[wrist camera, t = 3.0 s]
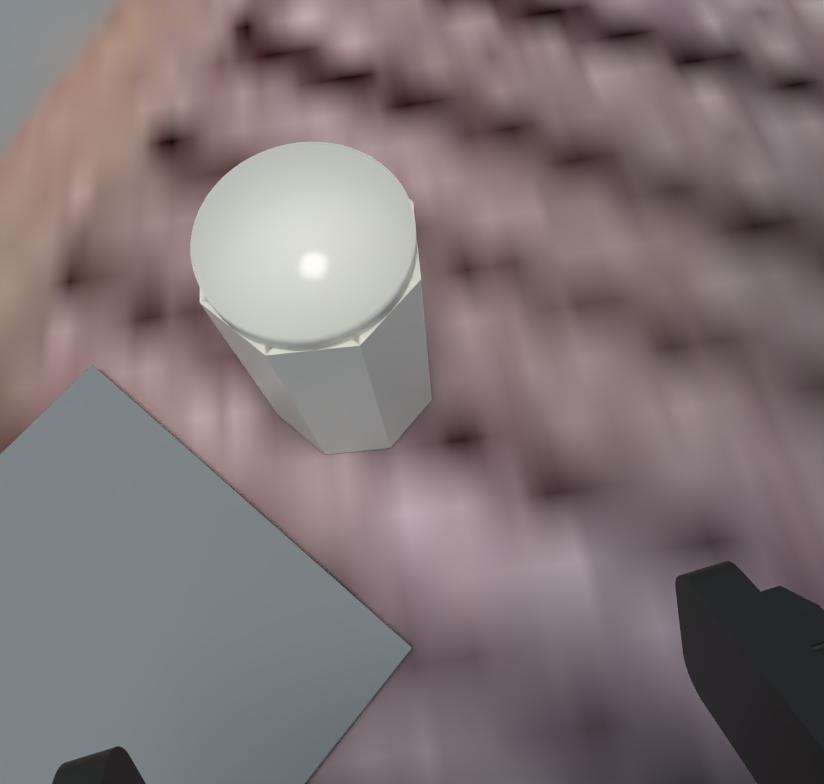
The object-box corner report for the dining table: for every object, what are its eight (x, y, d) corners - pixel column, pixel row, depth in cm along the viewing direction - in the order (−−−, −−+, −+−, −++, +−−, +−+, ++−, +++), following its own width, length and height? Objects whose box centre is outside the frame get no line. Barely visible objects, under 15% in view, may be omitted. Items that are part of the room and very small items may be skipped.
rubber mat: (99, 370, 29) (92, 364, 29) (412, 648, 25) (412, 647, 24) (-249, 711, 25) (-265, 711, 25) (50, 1106, 21) (39, 1118, 21)
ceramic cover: (347, 283, 30) (297, 106, 20) (460, 367, 28) (461, 217, 19) (246, 389, 28) (144, 251, 19) (360, 483, 27) (308, 383, 18)
